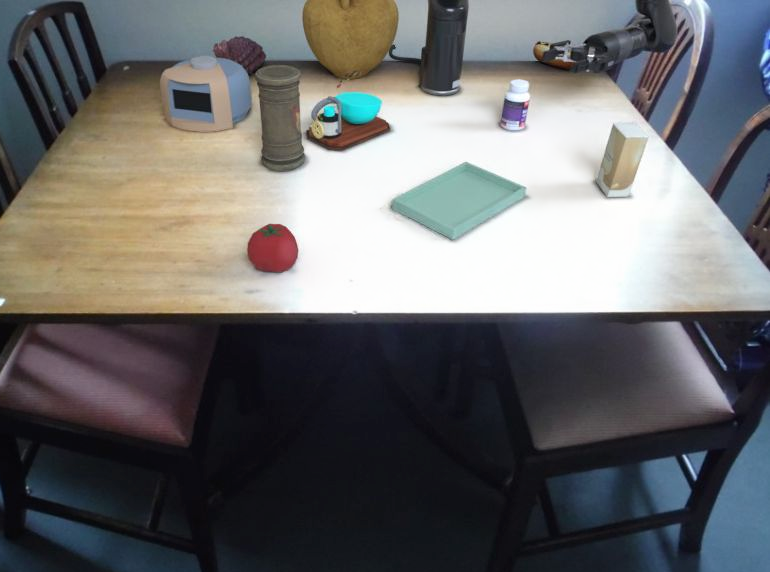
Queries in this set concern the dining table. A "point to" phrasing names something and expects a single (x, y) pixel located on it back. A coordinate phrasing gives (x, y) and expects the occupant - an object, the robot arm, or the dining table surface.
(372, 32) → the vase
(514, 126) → the pill bottle
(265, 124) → the container
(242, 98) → the alarm clock
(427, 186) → the tray
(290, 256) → the tomato
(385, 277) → the dining table surface
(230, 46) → the pine cone
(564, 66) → the hot dog
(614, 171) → the cosmetic box
